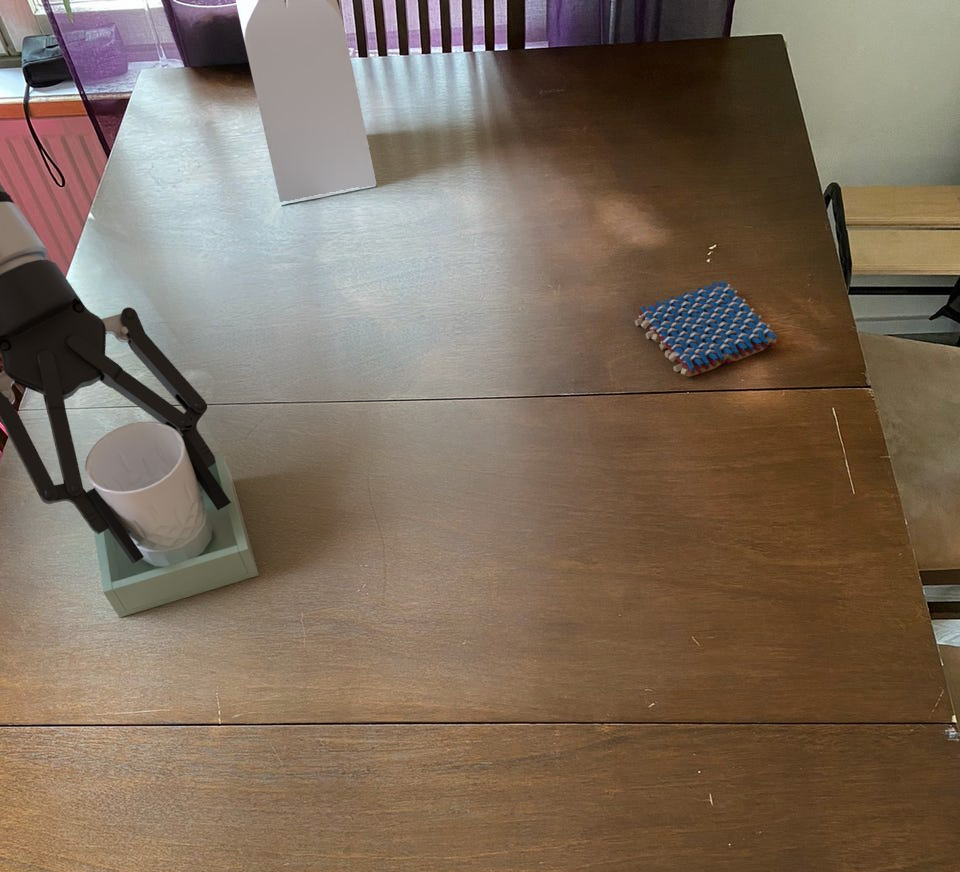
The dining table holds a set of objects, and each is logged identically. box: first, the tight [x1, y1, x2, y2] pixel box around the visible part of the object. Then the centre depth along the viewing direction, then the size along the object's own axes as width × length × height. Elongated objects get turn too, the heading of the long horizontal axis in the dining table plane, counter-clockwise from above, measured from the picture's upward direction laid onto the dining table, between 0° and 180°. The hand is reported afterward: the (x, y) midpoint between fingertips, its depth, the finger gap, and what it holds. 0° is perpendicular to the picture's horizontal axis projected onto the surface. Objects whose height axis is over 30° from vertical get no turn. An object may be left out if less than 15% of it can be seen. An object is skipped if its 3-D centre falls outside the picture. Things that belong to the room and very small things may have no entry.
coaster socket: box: [87, 451, 260, 618], centre depth 87 cm, size 12×12×4 cm
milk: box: [235, 0, 377, 203], centre depth 110 cm, size 12×12×26 cm
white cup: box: [84, 421, 212, 567], centre depth 83 cm, size 8×8×10 cm
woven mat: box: [634, 281, 777, 378], centre depth 98 cm, size 10×11×2 cm
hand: (181, 532), depth 83 cm, fingers closed on white cup, 8 cm apart
